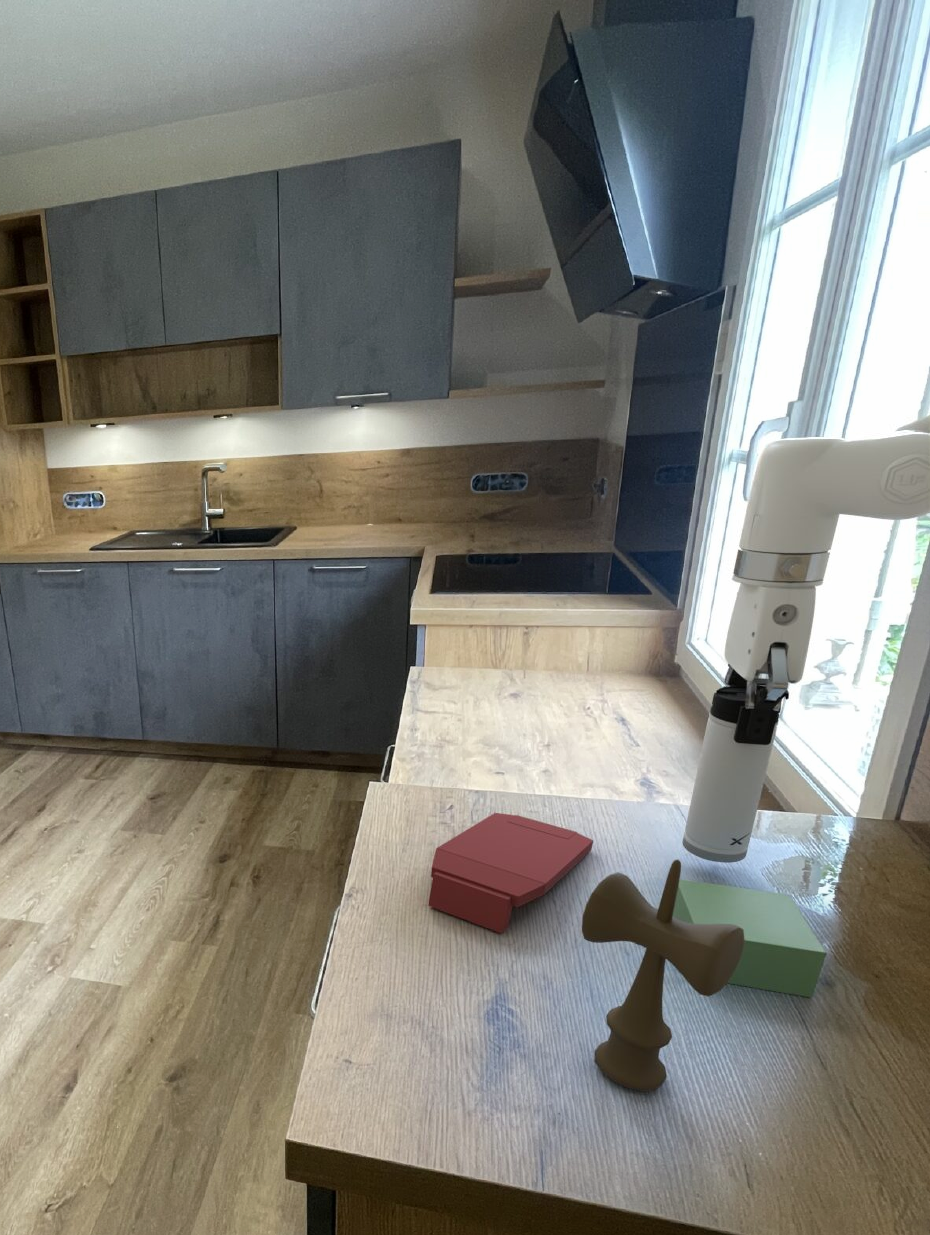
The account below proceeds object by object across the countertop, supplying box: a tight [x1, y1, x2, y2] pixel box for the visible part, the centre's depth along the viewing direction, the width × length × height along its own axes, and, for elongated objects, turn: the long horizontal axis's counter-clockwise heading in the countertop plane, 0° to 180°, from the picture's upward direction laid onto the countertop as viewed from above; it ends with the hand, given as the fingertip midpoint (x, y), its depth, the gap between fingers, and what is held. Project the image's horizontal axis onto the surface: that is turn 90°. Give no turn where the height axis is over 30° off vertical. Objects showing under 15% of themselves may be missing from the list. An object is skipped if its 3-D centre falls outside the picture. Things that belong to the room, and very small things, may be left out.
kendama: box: [581, 859, 745, 1092], centre depth 61 cm, size 6×10×20 cm, turn 34°
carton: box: [427, 812, 594, 934], centre depth 93 cm, size 12×5×25 cm
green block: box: [673, 878, 827, 998], centre depth 77 cm, size 10×10×5 cm
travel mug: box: [681, 685, 790, 864], centre depth 88 cm, size 6×7×20 cm
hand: (742, 730), depth 87 cm, fingers closed on travel mug, 6 cm apart
